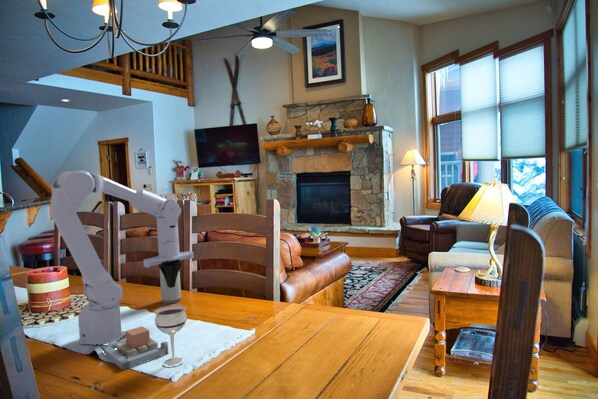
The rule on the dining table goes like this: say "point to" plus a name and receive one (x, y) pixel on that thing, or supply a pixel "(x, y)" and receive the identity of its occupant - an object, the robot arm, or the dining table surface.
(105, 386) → the dining table surface
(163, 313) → the wineglass
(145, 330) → the salmon pink block
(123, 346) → the pallet
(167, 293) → the travel mug
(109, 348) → the dock
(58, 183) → the robot arm
